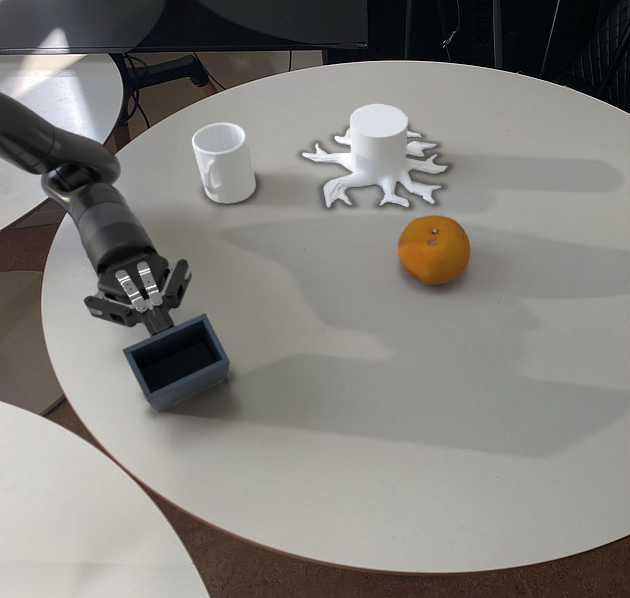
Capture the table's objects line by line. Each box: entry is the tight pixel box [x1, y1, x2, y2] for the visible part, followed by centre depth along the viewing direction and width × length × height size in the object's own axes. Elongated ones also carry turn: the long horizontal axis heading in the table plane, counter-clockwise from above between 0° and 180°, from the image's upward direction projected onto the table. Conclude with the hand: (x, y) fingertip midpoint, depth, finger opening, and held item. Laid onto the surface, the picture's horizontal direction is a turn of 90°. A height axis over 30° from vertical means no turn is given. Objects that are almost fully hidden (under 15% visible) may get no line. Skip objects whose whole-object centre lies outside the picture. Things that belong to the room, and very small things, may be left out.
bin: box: [122, 313, 231, 413], centre depth 69 cm, size 6×9×12 cm, turn 123°
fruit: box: [397, 214, 471, 286], centre depth 86 cm, size 10×10×8 cm
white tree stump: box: [302, 103, 449, 208], centre depth 100 cm, size 23×25×9 cm
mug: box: [191, 122, 257, 205], centre depth 94 cm, size 8×12×10 cm
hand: (166, 336), depth 68 cm, fingers closed
